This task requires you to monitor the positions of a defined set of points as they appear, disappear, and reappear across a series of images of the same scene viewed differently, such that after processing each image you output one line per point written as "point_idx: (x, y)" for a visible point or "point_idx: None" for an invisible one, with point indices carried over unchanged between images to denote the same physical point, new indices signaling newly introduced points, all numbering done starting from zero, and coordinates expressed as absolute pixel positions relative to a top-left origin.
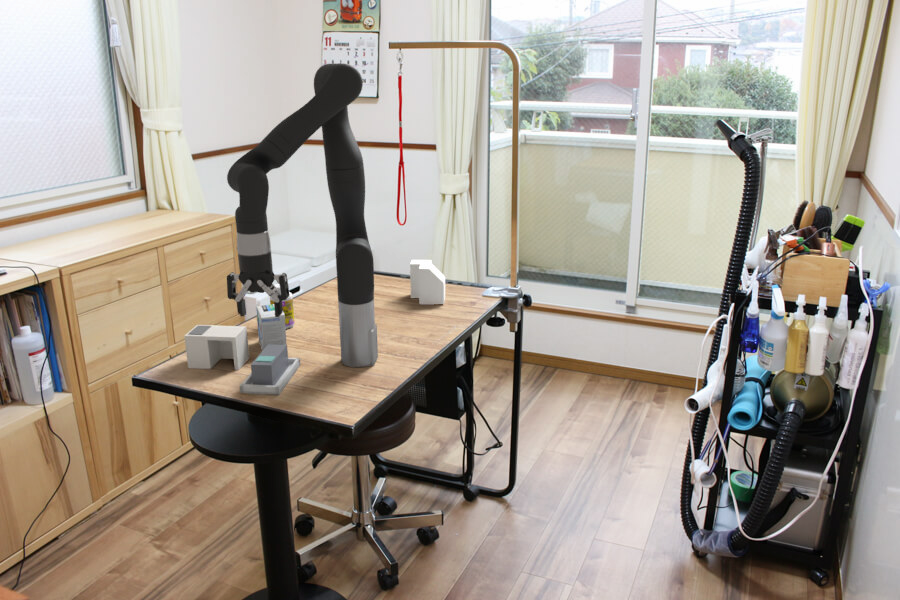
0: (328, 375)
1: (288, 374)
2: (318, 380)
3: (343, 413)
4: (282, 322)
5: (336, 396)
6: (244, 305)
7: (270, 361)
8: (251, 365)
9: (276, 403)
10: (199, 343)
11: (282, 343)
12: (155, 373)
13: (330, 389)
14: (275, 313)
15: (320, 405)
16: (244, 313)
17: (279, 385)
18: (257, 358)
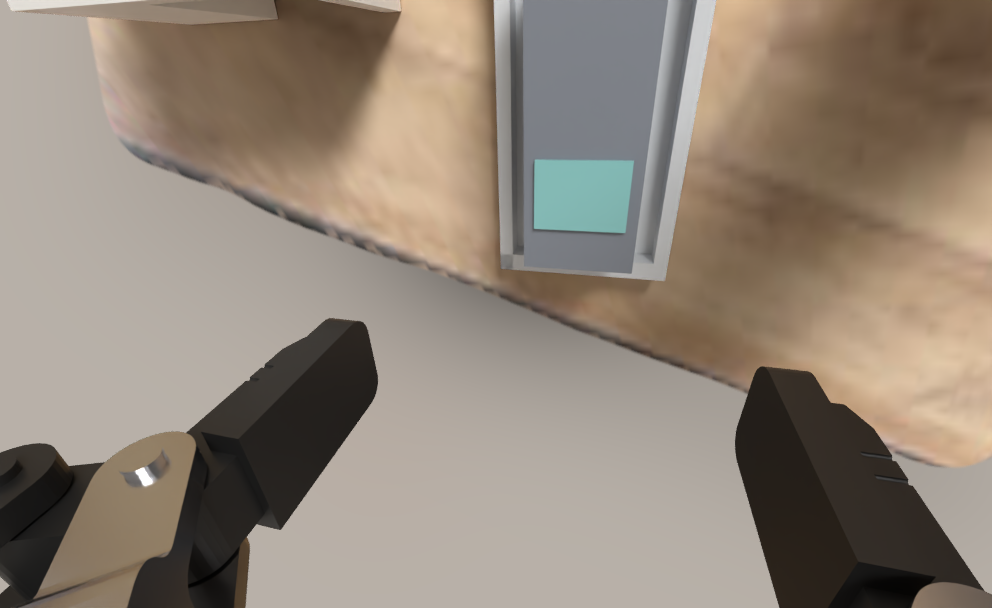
0: (935, 14)
1: (691, 127)
2: (857, 98)
3: (946, 405)
4: None
5: (940, 275)
6: (306, 410)
7: (618, 231)
8: (528, 265)
9: (663, 327)
10: (129, 9)
11: None
12: (130, 100)
13: (919, 205)
14: (751, 486)
15: (848, 347)
16: (362, 370)
17: (666, 262)
18: (535, 200)
